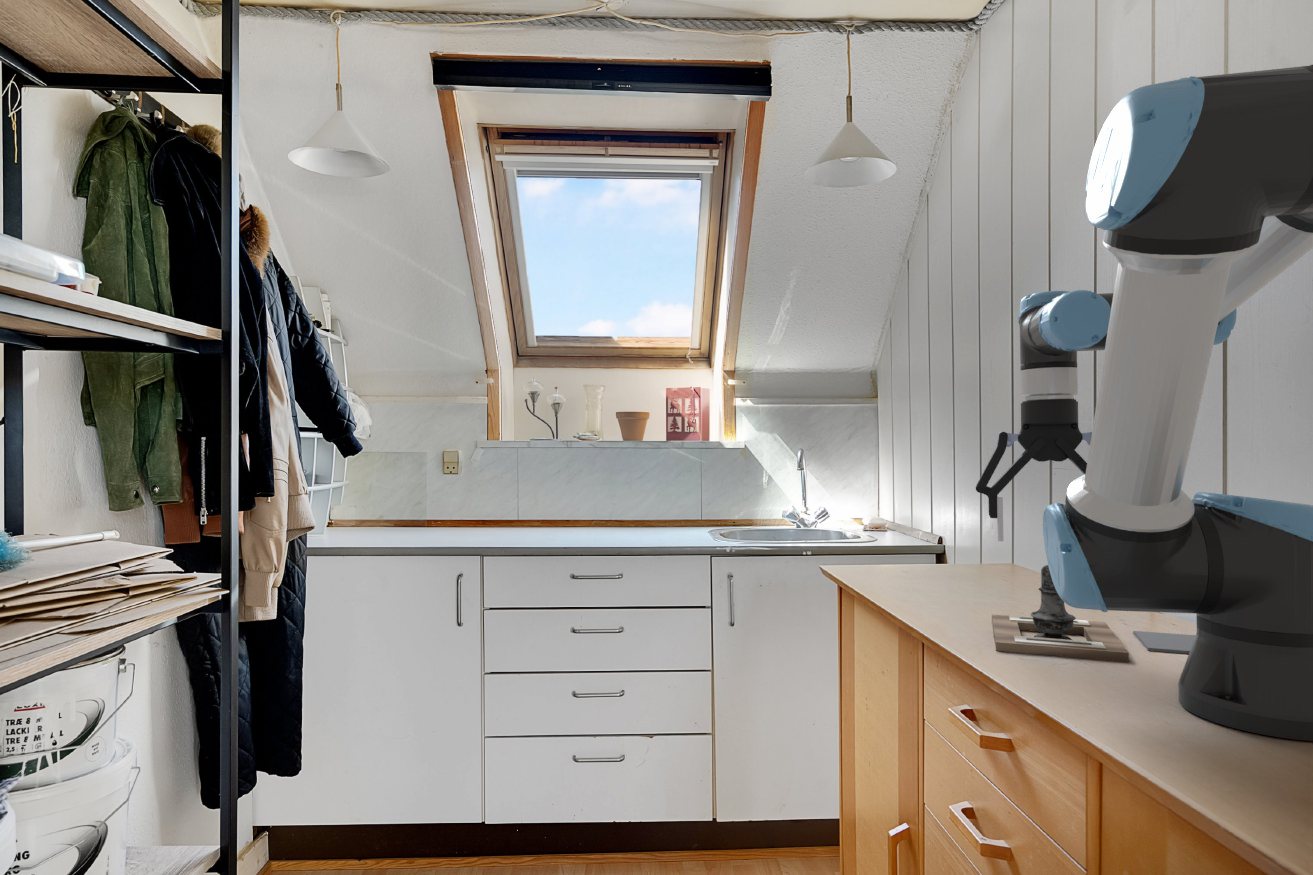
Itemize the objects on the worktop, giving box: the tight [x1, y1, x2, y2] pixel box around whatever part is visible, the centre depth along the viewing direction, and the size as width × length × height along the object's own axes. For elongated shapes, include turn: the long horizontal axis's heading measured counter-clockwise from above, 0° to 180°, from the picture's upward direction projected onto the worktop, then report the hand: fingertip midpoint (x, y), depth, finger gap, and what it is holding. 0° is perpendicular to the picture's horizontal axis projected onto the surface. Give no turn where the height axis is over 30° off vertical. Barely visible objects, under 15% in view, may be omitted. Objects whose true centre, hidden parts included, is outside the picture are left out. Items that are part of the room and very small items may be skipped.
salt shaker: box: [1030, 564, 1077, 640], centre depth 110 cm, size 6×6×12 cm
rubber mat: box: [1132, 630, 1196, 655], centre depth 106 cm, size 10×10×1 cm
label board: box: [991, 614, 1130, 663], centre depth 110 cm, size 18×16×2 cm
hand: (1050, 542), depth 110 cm, fingers open, 13 cm apart
